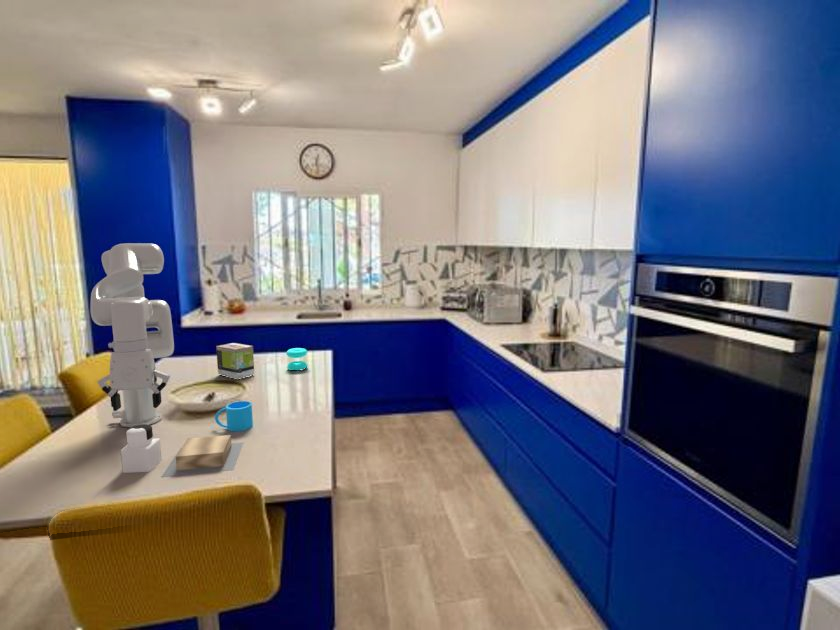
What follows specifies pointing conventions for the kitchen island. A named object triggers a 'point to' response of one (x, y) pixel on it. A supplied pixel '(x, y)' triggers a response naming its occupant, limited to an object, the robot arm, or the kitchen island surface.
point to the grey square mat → (227, 466)
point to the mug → (237, 416)
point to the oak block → (204, 452)
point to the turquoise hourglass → (296, 354)
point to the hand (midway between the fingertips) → (137, 407)
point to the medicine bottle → (140, 450)
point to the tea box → (235, 360)
